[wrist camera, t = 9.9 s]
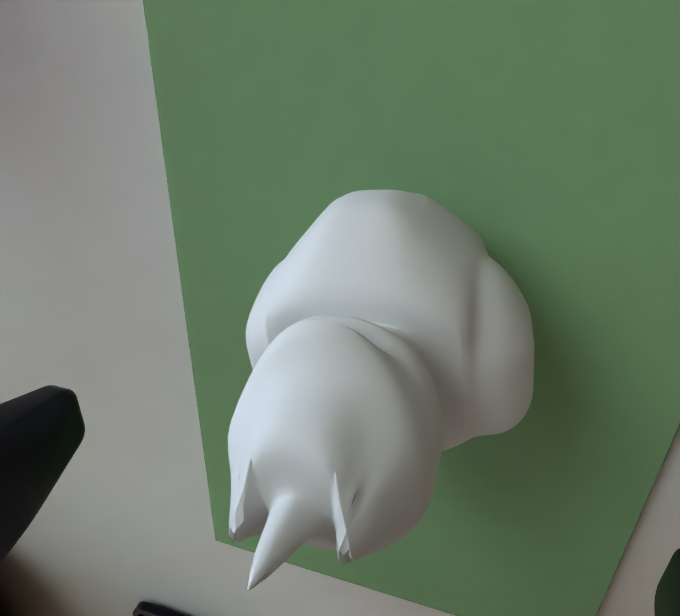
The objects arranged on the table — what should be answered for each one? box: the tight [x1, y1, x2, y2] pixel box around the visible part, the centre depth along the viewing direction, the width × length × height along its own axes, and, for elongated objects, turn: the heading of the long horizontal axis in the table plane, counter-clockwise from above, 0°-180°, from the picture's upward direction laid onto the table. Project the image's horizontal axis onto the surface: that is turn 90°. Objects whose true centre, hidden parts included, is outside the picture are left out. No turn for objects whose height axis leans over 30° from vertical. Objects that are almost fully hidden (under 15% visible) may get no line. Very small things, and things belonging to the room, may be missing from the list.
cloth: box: [143, 0, 680, 616], centre depth 14 cm, size 20×12×1 cm, turn 179°
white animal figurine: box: [228, 190, 534, 592], centre depth 10 cm, size 5×7×8 cm
